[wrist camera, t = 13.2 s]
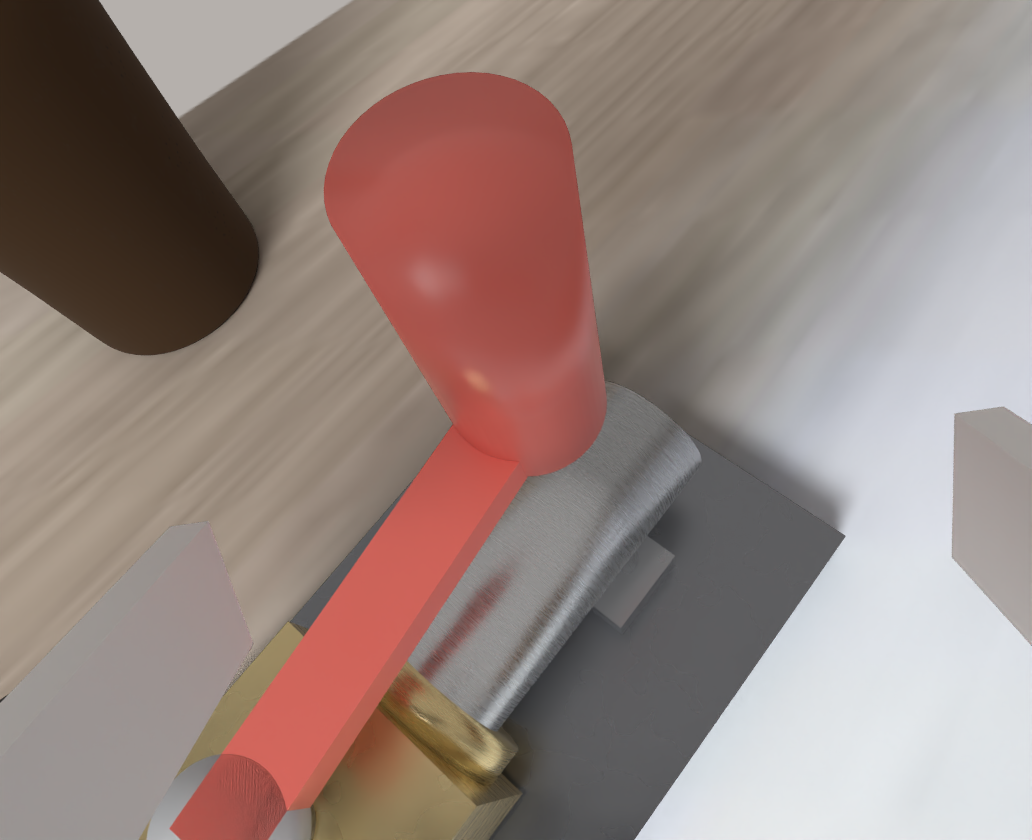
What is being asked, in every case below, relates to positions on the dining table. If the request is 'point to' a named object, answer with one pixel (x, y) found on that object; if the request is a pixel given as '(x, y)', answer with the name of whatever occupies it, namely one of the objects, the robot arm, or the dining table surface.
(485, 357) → the lever
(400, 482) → the dining table surface
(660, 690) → the valve pipe
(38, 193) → the olive oil
